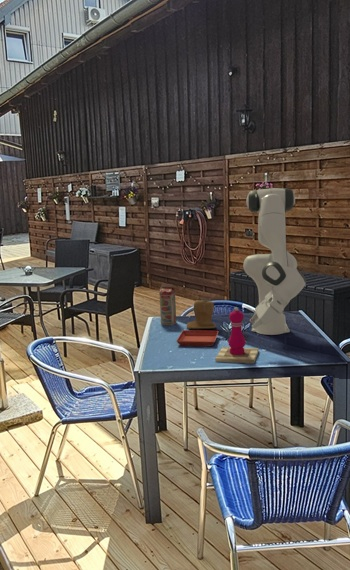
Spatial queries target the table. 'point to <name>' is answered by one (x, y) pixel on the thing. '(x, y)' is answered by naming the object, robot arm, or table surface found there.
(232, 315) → the pepper mill
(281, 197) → the robot arm
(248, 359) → the birch board
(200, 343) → the plant saucer
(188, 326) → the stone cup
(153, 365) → the table surface
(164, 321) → the juice carton
